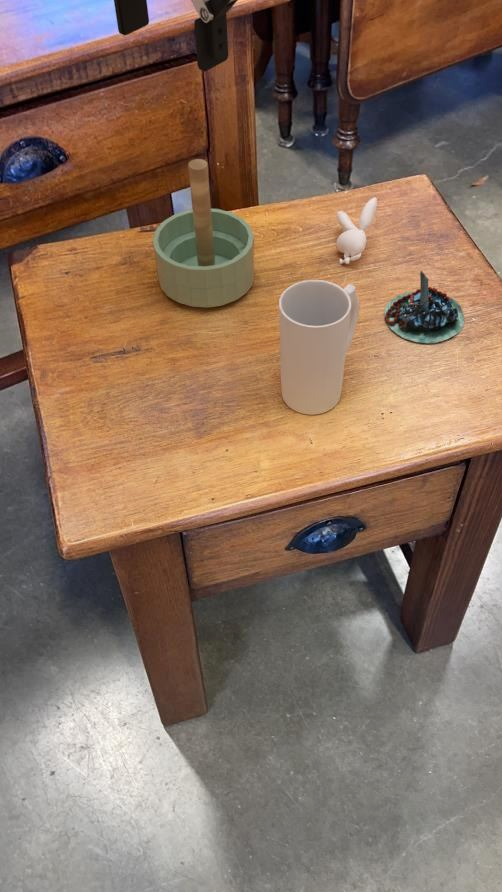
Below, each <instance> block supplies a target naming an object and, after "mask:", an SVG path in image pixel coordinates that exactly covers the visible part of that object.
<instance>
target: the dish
mask: <svg viewBox="0 0 502 892" xmlns="http://www.w3.org/2000/svg"><path fill="white" fill-rule="evenodd" d="M419 276H420V277H419V278H420V281H419V282H420V287H419V288H418V289H416V290H415V291H409V292H405V293H401V294H398V295H397V296H395V297H394V298H393V299H391V300H390V301H389V302H388V303H387V305H386V307H385V309H384V316H383V317H384V321H385V322H386V325H387V327H388V328H389V329H390V330H391V331H393V332H394V334H396V335H398V336H400V337H401V338H403V339H405V340H409V341H411V342H415V343H420V344H421V343H422V344H436V343H439V342H444V341H445V340H446V341H447V340H448V339H450V338H452V337H454V336H456V335H458V334H459V333H460V332H461V331H462V329H463V327H464V323H465V317H464V311H463V309H462V306H461V305H460V303H459V302H457V301H456V300H455V299H454V298H452V297H450V296H448V294H447V293H446V292H442V291H441V290H440V291H439V290H438V289H437V287H431V286H429V278H428V277H427V275H426V274H425V273H424V272H423V270H420V273H419Z"/></svg>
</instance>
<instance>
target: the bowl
mask: <svg viewBox="0 0 502 892" xmlns="http://www.w3.org/2000/svg"><path fill="white" fill-rule="evenodd" d="M211 215H212V228H213V241H214V254H215V265H211V266H205V267H204V266H198V261H197V250H196V240H195V230H194V219H193V209H187V210H184V211H180V212H177V213H175V214H173V215H171V216H170V217H168V218H166V219H164V220H163V221H162V222H161V223H160V224H159V225H158V227H157V228H155V230H154V234H153V237H152V245H153V252H154V253H153V254H154V258H155V266H156V274H157V279H158V283H159V287H160V289H161V290H162V292H163V293H164V294H165V295H166V296H167V297H168V298H170V299H172V300H173V301H174V302H176V303H179V304H182V305H184V306H185V305H186V306H189V307H193V308H213V307H221V306H224V305H225V306H226V305H227V304H231V303H232V302H235V301H237V300H239V299H241V298H242V297H243V296H244V295H246V294H247V293H248V292H249V290H250V289H251V287H252V286H253V285H254V283H255V276H256V261H255V258H256V257H255V255H256V254H255V235H254V232H253V229H252V227H251V225H250V224H249V223H248V222H247V221H246V220H245V218H242V217H241V216H240V215H237V214H235V213H233V212H231V211H227V210H223V209H220V208H211Z"/></svg>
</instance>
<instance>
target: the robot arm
mask: <svg viewBox="0 0 502 892" xmlns="http://www.w3.org/2000/svg"><path fill="white" fill-rule="evenodd" d="M190 1H191V4H193V7H194V8H195V10H196V13H197V14H198V16H199V17H198V18H196V19H195V20H194V24H193V25H194V28H193V29H194V40H195V41H194V42H195V53H196V63H197V67H198V70H200V71H202V72H207V71H209V70H211V69H213V68H216V67H217V66H218V65H220V64H223V63H224V62H226V61H227V60H228V59H229V40H228V39H229V38H228V20H227V19H228V18H227V17H228V16H227V13H230V12H232V11H233V6H234V5H236V3H237V2H238V0H190ZM113 3H114V4H113V5H114V11H115V17H116V24H117V31H118V33H119V34H121V35H122V36H128V35H131V34H132V33H134V32H137V31H139V30H140V29H142V28H144V27H146V26H148V25H149V23H150V17H149V16H150V15H149V9H148V1H147V0H113Z"/></svg>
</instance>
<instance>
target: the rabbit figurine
mask: <svg viewBox="0 0 502 892" xmlns="http://www.w3.org/2000/svg"><path fill="white" fill-rule="evenodd" d="M377 207H378V199H377V197H376V196H374V197H371V198H370V199H369V200H368V201H367V202H365V205H364V206H363V208H362V210H361V212H360V216H359V220H358V226H359V228H358V227H357V226H356V225H355V224H354V223H353V221H352V220H351V219H350V217H349V214H347V213H346V212H345V211H342V210H338V211H337V212H336V219H337V222H338V224H339V226H340V227H341V229H343V230H344V232H342V233H341V234H340V235H339V236H337V239H336V242H335V247H336V249H337V251H338V252H340V253H342V254H343V258H344V259H342V258H339V266H341V265H343V264H345V265H349V264H350V262H354V261H357V260H360V259H361V257H362V253H363V252H364V250H365V249H366V246H367V235H366V233H365V231H366V230H368V229H369V228H370V227H371V225H372V224H373V220H374V217H375V215H376V212H377Z"/></svg>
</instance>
